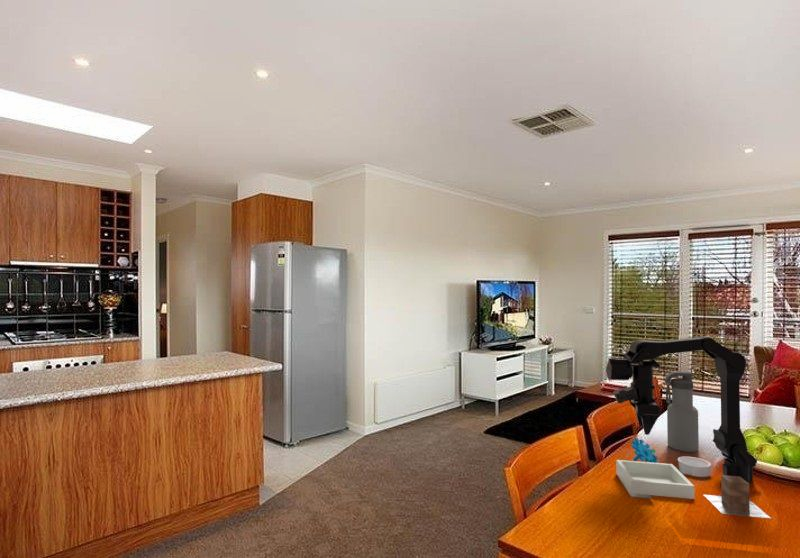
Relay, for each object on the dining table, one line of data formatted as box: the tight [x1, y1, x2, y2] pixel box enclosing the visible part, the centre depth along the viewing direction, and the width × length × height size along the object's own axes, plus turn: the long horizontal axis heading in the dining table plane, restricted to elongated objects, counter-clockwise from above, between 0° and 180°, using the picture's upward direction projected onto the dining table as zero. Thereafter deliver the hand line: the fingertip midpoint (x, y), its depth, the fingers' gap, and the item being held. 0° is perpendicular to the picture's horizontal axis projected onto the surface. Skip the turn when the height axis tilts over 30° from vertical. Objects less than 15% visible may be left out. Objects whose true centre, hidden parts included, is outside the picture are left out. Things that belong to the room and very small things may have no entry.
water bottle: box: [664, 370, 700, 453], centre depth 166 cm, size 10×10×28 cm
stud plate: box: [703, 494, 771, 519], centre depth 119 cm, size 11×11×4 cm
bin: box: [616, 459, 695, 500], centre depth 133 cm, size 16×16×4 cm
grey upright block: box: [720, 474, 750, 511], centre depth 119 cm, size 4×4×7 cm
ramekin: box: [677, 455, 712, 478], centre depth 142 cm, size 9×9×4 cm
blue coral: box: [631, 437, 659, 463], centre depth 153 cm, size 11×6×10 cm
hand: (643, 430), depth 141 cm, fingers open, 9 cm apart
